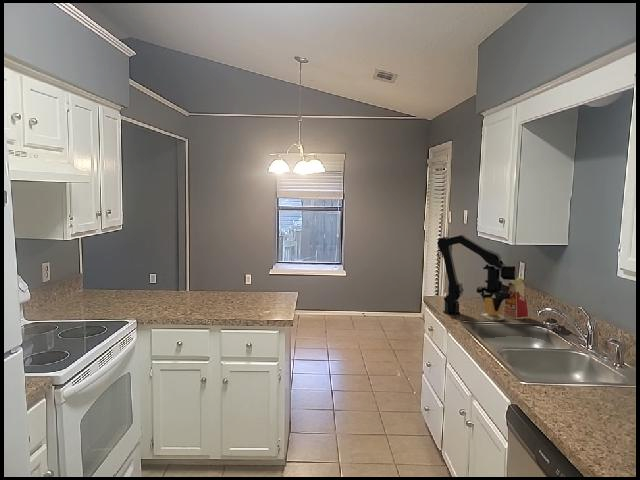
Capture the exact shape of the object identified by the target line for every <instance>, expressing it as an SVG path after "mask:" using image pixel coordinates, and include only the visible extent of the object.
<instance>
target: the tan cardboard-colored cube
mask: <svg viewBox="0 0 640 480" xmlns="http://www.w3.org/2000/svg"><path fill="white" fill-rule="evenodd" d="M493 298H496V297H495V296H492V297H486V298H485V302H484V309H483V312H484V313H483V314H485V313H487V314H489V315H502V302H503V301H502V302H501V304H500V307H499V309H498V311H495V308H494V303H493Z"/></svg>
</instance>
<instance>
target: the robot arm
mask: <svg viewBox="0 0 640 480" xmlns="http://www.w3.org/2000/svg"><path fill="white" fill-rule="evenodd" d="M458 244H461V246H464V247H465V248H466V249H468V250H470V251H472V252H473V253H475V254H477V255H478V256H480V257H481V258H482V259H483V261H484V262H486V265H485V266H484V267H483V268H482V269H483V270H487V273H486V277H487V278H486V280H484V281H485V282H484V283H486V285H485V286H477V287H476V293H478V294H479V295H480V296H481V298H482V300H483V302H484V303H485V298H486V297H496V298H493V303H494V308H495V311H498V309H499V307H500V304H501V305H502V303H501V302H503V301H505V299H510V293H508V292H509V289H510V287H509V286H508V285H506V284H503V282H502V281H501V279H500V278H502V279H503V280H507V281H512V280H516V279H517V274H518V273H517V266H516V265H506V264H505V263H504V261H503V260H502V256H501V254H499V253H498V252H496V251H493V250H490V249H486V248H484V247H483V246H481V245H480V244H478V243H477V242H475V241H473V240H471V239H469V238H468V237H466V236H465V235H463V234H460V235H457V236H452V237H448V236H444V237H443V236H442V237H441V238H439V239H438V240H437V248H438V249H439V252H440V253H441V255H442V257H443V261H444V266H445V271H446V276H447V279H448V288H447V289H448V292H447V293H448V294H447V295H446V296H444V298H443V299H444V310H442V313H444V314H447V315H460V314H461V312H460V304H459V302H460V301H459V299H460V298H461V297H463V294H464V292H465V290H464V288H463V283H459V281H458V277H457V273H456V267H455V263H454V259H453V252H452V251H453V245H458Z"/></svg>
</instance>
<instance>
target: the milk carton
mask: <svg viewBox="0 0 640 480" xmlns="http://www.w3.org/2000/svg"><path fill="white" fill-rule="evenodd" d="M507 286H509V287H510V289H509V292H508V293H510V299H504V304H503V305H504V306H503V316H504V317H507V318H509V319H512V320H513V319H514V320H521V319H522V320H523V319H524V318H525V319H529V318H530V317H529V316H530V315H529V306H528V298H527V293H526V289H525V288H526V287H525V284H524V281H523V280H522V276H519V277H518V278H517V277H516V280H509V283H508V284H507ZM525 319H524V320H525Z"/></svg>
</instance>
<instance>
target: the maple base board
mask: <svg viewBox="0 0 640 480" xmlns="http://www.w3.org/2000/svg"><path fill="white" fill-rule="evenodd" d="M480 317H481V318H484V319H487V320H490V321H493V322H494V321H501V320H503V321H505V319H506V318H505V317H506V316H504V315H502V314H499V315H496V316H490V315H489V314H487V313H480Z"/></svg>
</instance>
